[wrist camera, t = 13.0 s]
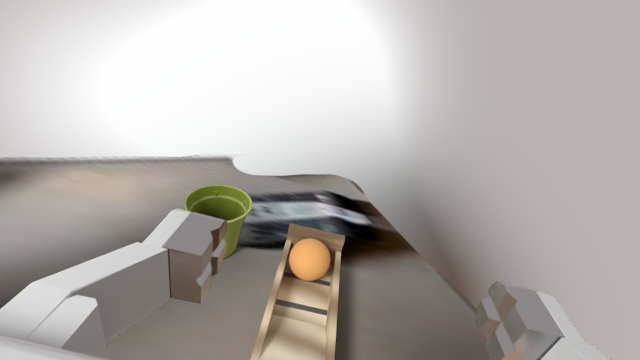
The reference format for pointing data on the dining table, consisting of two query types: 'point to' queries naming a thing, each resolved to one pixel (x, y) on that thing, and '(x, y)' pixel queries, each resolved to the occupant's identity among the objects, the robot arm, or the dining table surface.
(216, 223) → the robot arm
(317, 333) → the lane
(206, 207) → the plant pot
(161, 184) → the dining table surface
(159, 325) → the dining table surface
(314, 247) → the ball
